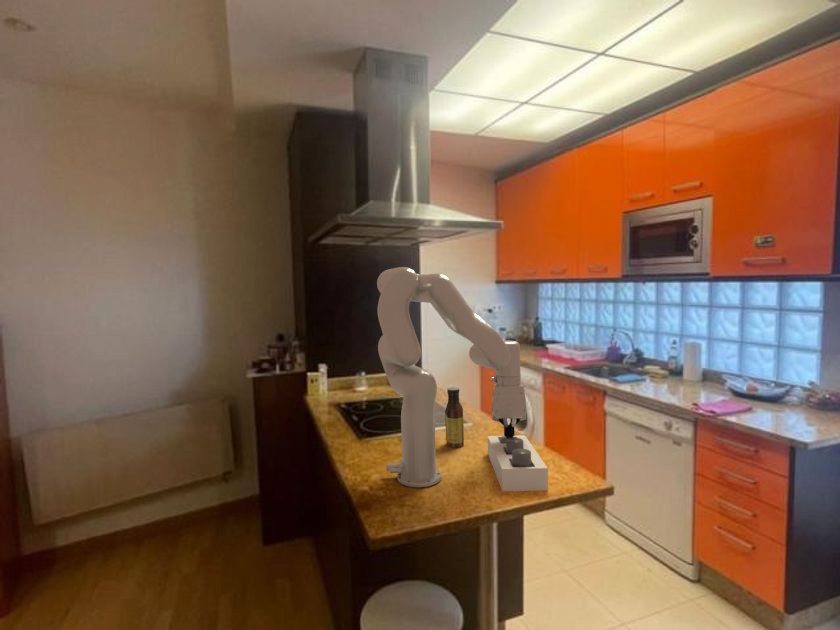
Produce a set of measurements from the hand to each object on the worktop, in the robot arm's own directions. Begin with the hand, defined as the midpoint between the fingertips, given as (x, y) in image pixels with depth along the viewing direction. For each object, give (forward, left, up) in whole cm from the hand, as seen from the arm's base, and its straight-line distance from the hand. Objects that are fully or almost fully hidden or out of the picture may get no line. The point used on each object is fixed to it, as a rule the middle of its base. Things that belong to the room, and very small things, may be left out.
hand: (509, 438), depth 136 cm
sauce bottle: (-16, +13, -7) cm, 22 cm away
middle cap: (0, -9, -3) cm, 10 cm away
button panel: (0, -9, -7) cm, 11 cm away
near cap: (0, -18, -3) cm, 18 cm away
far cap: (0, 0, -6) cm, 6 cm away
